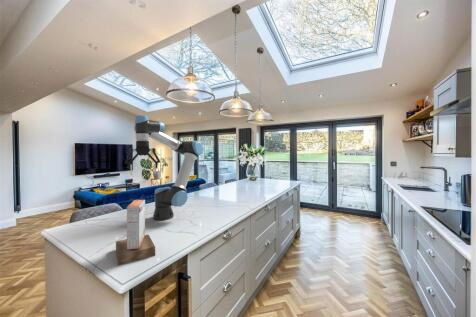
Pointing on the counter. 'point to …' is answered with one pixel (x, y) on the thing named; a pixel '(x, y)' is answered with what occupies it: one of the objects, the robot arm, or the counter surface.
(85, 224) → the counter surface
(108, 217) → the counter surface
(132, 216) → the cracker box
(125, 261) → the walnut plinth block
